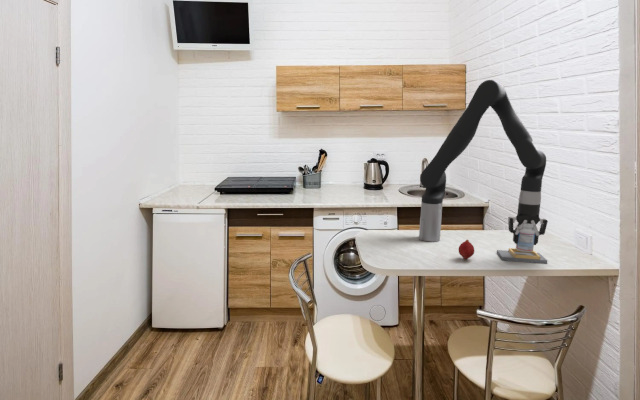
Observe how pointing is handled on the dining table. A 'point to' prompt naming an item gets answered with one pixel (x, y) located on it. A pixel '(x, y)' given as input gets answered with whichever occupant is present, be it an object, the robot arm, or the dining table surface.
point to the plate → (521, 256)
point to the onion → (466, 249)
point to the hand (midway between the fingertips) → (525, 243)
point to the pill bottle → (526, 238)
